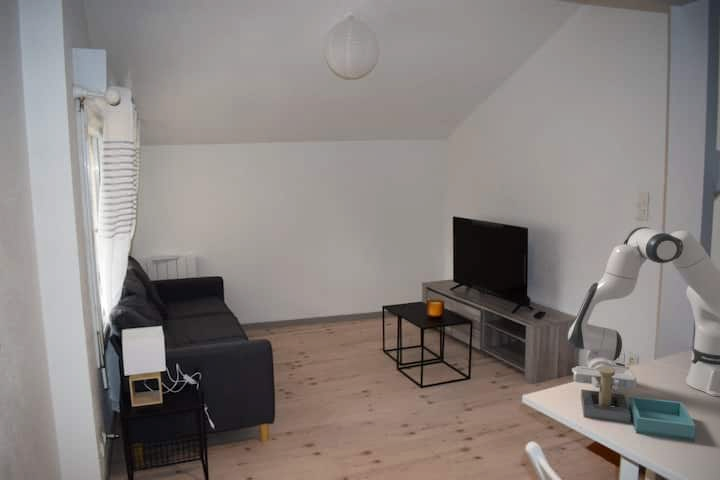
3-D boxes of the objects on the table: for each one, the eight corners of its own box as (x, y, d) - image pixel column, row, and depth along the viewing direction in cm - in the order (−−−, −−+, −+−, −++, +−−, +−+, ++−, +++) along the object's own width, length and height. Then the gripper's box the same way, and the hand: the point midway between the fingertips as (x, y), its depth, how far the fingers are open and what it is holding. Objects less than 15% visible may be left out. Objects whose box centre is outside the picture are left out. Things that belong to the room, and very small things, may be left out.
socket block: (623, 403, 188) (624, 394, 188) (629, 423, 175) (630, 413, 175) (580, 398, 193) (581, 389, 192) (583, 416, 180) (584, 407, 179)
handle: (613, 408, 185) (616, 367, 182) (609, 416, 180) (612, 374, 177) (598, 404, 188) (601, 364, 185) (594, 412, 183) (597, 370, 180)
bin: (681, 416, 179) (682, 402, 178) (693, 441, 164) (695, 426, 163) (628, 409, 184) (629, 396, 183) (636, 432, 169) (637, 418, 168)
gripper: (571, 359, 197) (573, 374, 184) (633, 365, 191) (639, 381, 178) (570, 375, 198) (572, 391, 185) (631, 382, 192) (638, 399, 179)
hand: (606, 386), depth 182 cm, fingers closed on handle, 3 cm apart
